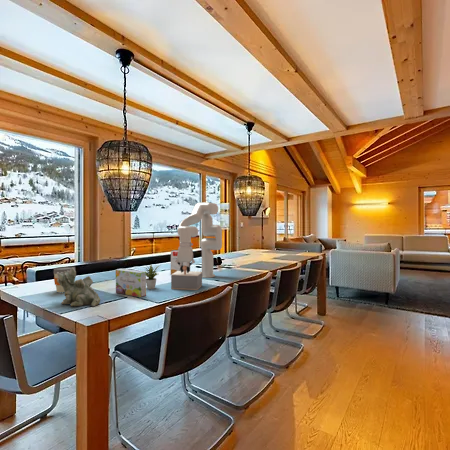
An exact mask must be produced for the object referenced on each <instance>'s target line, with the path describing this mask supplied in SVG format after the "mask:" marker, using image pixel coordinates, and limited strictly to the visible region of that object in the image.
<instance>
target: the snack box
mask: <svg viewBox="0 0 450 450" xmlns="http://www.w3.org/2000/svg"><path fill="white" fill-rule="evenodd" d="M146 273H147V270H145V271H144V270H137V269H130V268H123V267H122V268H117V269H115V293H116V294H121V295H127V296H132V297H137V298H143V297H145V296H147V284H146V279H147V275H146Z"/></svg>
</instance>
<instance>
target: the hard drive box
mask: <svg viewBox="0 0 450 450" xmlns="http://www.w3.org/2000/svg"><path fill="white" fill-rule="evenodd" d="M177 255H178V250H170V275H171V274H173V273H175V272H177V271H180V265H179V264H178V263H176V262H175V261H176V259H177ZM185 265H186V266H187V267H188V264H187V262H183V266H185ZM183 271H184V270H183ZM186 271H187V270H186Z"/></svg>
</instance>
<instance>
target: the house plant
mask: <svg viewBox="0 0 450 450" xmlns="http://www.w3.org/2000/svg"><path fill="white" fill-rule="evenodd" d="M160 266H162V265H156V266H153V265H152V264H151V265H149V267H148V266H147V265H146V267H144V266H143V268H144V269H145V271H146V290H147V289H148V290H153V289H155V288H156V283H157V278H156V276H158V275H159V272H157V271H158V269H159V268H160Z"/></svg>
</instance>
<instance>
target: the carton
mask: <svg viewBox="0 0 450 450" xmlns="http://www.w3.org/2000/svg"><path fill="white" fill-rule="evenodd" d="M170 278H171V279H170V280H171V281H170V282H171V283H170V289H171V290H191V291H198V290H199V289H200V288H201V287H202V286H203V277H202V273H201V274H200V275H198V276H179V275H171V274H170Z"/></svg>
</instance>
